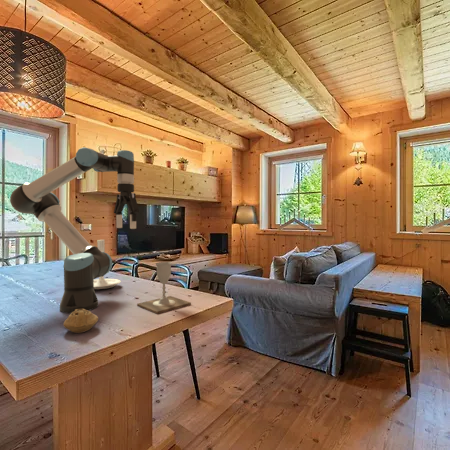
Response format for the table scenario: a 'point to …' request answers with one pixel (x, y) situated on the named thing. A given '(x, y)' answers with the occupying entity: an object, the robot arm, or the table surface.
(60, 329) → the table surface
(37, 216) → the robot arm
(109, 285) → the candlestick
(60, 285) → the table surface
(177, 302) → the board
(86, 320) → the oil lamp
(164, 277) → the chalice
